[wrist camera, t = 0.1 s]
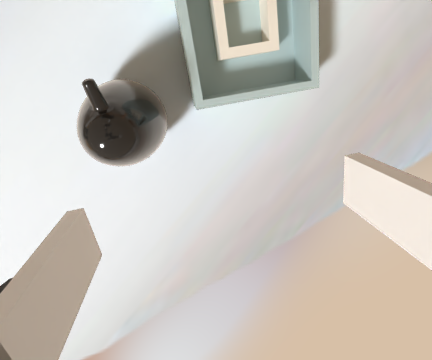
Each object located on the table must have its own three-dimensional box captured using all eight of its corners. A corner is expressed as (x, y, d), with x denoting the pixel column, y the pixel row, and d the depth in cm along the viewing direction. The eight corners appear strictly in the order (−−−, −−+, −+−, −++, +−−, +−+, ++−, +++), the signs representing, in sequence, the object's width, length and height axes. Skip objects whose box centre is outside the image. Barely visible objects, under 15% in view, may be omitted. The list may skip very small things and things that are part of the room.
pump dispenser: (156, 70, 36) (143, 65, 22) (176, 142, 40) (175, 178, 26) (81, 86, 35) (19, 92, 21) (109, 158, 39) (72, 203, 25)
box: (165, -49, 31) (162, -76, 26) (293, -67, 33) (317, -97, 27) (193, 105, 38) (196, 109, 33) (299, 86, 39) (319, 87, 34)
